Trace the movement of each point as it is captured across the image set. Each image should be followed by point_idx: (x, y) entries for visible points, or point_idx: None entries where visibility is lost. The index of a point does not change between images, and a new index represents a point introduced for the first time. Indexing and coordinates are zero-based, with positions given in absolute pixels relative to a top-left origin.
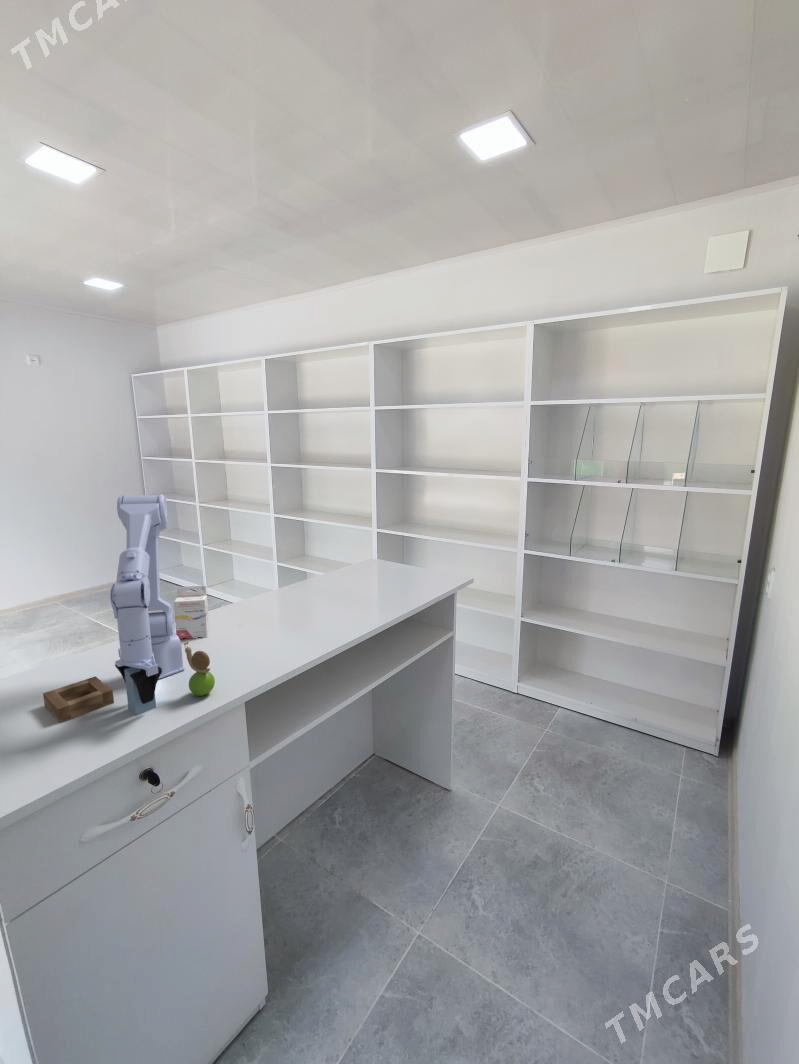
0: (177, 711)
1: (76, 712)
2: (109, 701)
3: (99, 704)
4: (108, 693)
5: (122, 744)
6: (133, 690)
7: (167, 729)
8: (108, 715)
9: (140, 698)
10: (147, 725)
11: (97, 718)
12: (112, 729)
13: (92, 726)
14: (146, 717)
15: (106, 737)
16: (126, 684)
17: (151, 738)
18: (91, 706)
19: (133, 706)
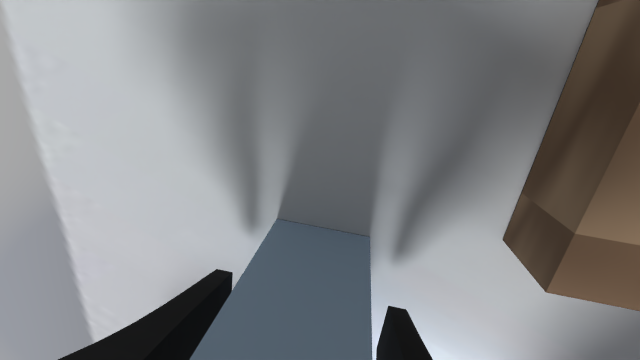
0: None
1: (603, 41)
2: (519, 229)
3: (542, 181)
4: (548, 259)
5: (81, 44)
6: (226, 317)
7: (71, 211)
8: (402, 154)
9: (205, 286)
10: (156, 192)
11: (429, 105)
12: (247, 89)
13: (370, 43)
14: (223, 228)
15: (196, 30)
16: (358, 354)
17: (47, 142)
18: (565, 138)
19: (293, 243)
